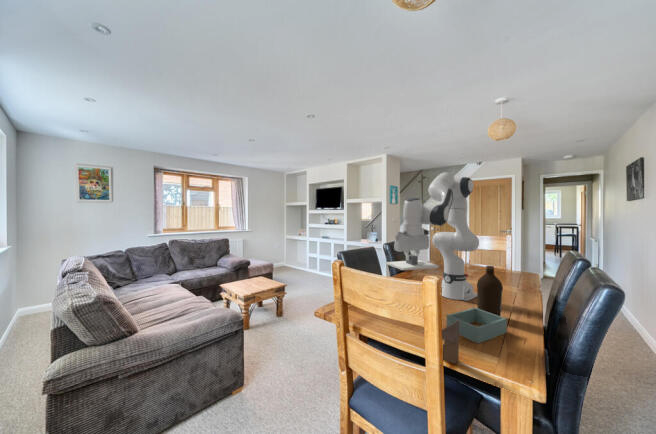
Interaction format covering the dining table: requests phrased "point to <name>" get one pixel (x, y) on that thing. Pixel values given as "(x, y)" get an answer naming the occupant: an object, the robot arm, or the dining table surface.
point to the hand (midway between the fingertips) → (411, 259)
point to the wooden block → (451, 343)
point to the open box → (479, 334)
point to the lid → (412, 264)
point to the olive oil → (489, 292)
